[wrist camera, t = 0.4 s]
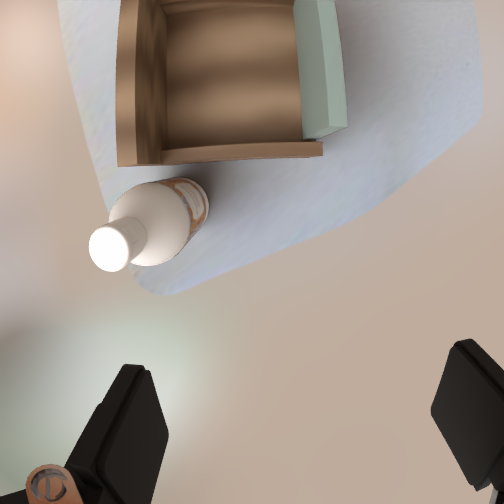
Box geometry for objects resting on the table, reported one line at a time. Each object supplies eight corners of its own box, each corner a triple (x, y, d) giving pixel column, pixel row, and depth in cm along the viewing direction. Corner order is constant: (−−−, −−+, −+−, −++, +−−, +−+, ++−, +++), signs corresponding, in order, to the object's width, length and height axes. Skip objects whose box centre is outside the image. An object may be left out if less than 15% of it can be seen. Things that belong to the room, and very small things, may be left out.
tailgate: (292, 8, 25) (308, -52, 14) (310, 9, 25) (331, -50, 14) (302, 140, 29) (329, 126, 18) (321, 140, 29) (356, 127, 18)
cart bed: (167, 29, 31) (125, -29, 16) (296, 20, 30) (317, -47, 16) (169, 165, 36) (117, 166, 21) (306, 157, 35) (340, 153, 21)
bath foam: (220, 217, 37) (183, 273, 18) (171, 244, 38) (100, 318, 19) (191, 166, 36) (123, 169, 16) (143, 196, 37) (46, 228, 17)
